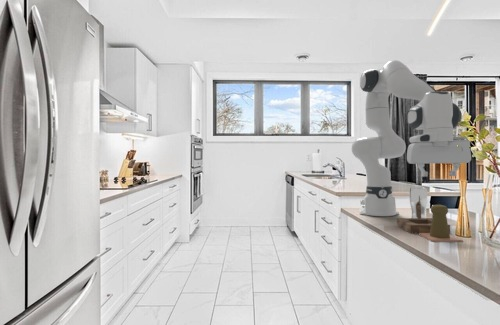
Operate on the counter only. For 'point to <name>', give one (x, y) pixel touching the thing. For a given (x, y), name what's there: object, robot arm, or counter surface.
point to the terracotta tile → (433, 239)
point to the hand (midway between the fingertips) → (438, 176)
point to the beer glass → (418, 201)
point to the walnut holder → (416, 224)
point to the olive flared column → (439, 222)
